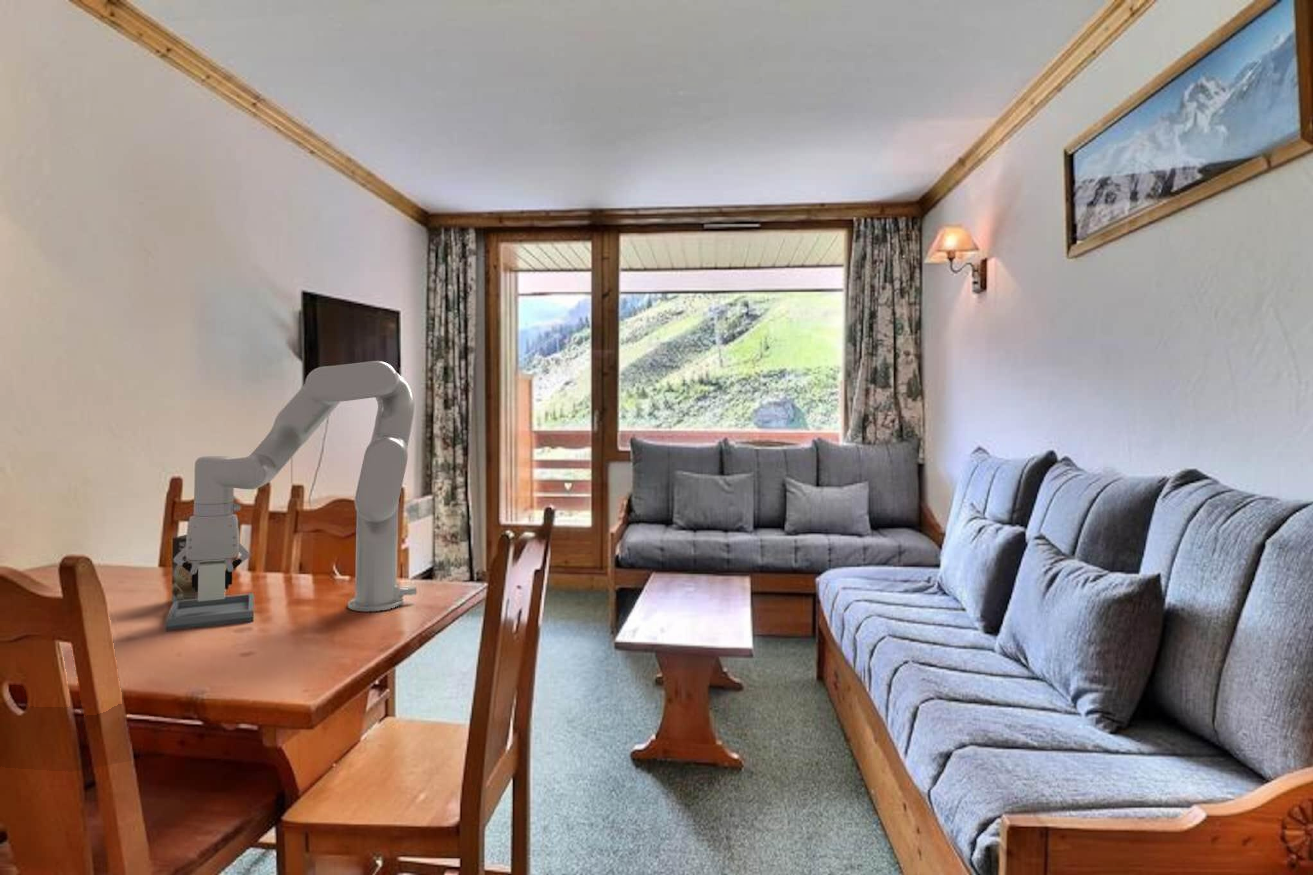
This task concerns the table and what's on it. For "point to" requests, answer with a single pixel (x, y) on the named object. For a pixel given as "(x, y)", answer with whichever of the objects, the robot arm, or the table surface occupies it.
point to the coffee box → (181, 574)
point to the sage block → (211, 580)
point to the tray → (210, 612)
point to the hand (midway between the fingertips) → (212, 588)
